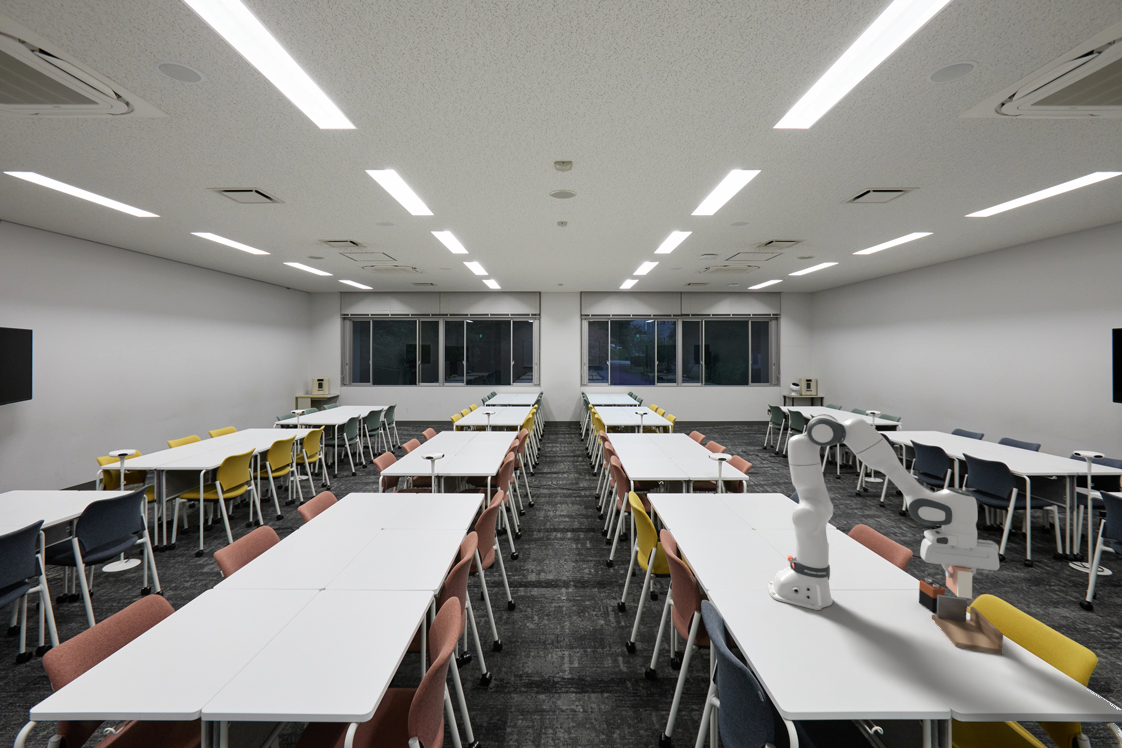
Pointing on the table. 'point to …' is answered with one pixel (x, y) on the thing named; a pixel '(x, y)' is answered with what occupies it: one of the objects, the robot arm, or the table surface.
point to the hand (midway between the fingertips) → (958, 578)
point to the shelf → (972, 633)
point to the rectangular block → (960, 581)
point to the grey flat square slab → (951, 608)
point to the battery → (929, 594)
